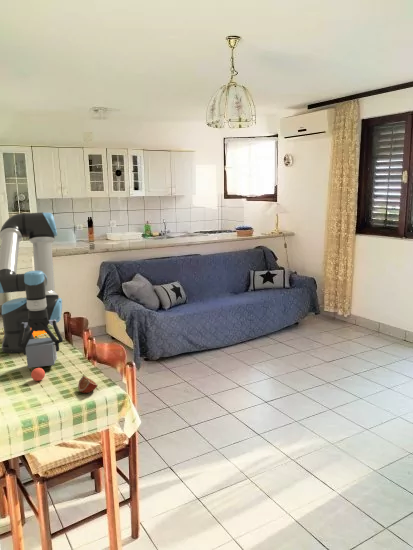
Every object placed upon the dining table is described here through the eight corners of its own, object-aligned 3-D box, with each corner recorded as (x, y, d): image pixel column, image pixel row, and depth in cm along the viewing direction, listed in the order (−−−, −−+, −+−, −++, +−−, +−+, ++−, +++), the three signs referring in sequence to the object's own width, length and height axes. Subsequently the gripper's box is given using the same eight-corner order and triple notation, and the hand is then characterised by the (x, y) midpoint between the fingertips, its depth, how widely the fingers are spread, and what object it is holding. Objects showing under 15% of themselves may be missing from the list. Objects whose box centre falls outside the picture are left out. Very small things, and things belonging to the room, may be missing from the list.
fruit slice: (75, 389, 165) (74, 376, 164) (93, 385, 169) (92, 372, 168) (82, 398, 158) (81, 384, 157) (101, 393, 162) (99, 380, 161)
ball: (32, 378, 176) (31, 366, 176) (46, 377, 178) (45, 365, 177) (31, 383, 172) (29, 371, 171) (44, 382, 173) (43, 369, 172)
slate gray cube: (31, 359, 192) (29, 339, 190) (56, 356, 194) (54, 337, 192) (27, 367, 182) (25, 347, 180) (54, 364, 184) (52, 344, 183)
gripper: (5, 313, 178) (11, 366, 182) (65, 308, 183) (70, 360, 187) (9, 309, 185) (15, 360, 189) (66, 304, 190) (71, 354, 194)
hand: (42, 360), depth 188 cm, fingers closed on slate gray cube, 10 cm apart
